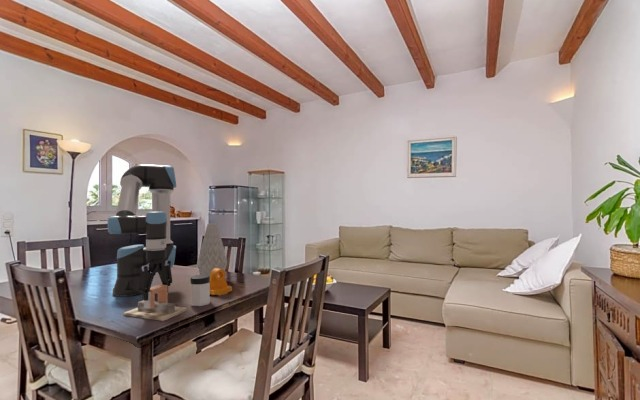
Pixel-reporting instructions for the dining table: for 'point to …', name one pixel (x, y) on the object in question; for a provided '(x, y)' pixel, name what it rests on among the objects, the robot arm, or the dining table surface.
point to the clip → (159, 294)
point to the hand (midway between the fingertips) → (156, 304)
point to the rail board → (156, 311)
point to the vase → (211, 251)
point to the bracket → (218, 282)
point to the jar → (200, 290)
